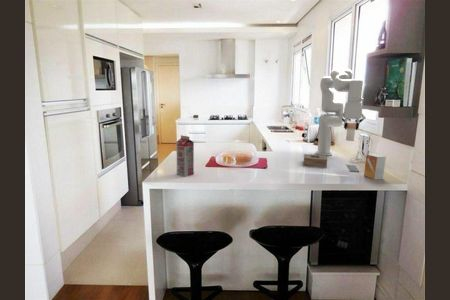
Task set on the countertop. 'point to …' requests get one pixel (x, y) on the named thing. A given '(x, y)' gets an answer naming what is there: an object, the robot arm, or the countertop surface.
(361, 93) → the robot arm
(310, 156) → the socket block
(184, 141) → the juice carton
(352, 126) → the plug
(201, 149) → the countertop surface
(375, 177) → the small box
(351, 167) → the mat
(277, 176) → the countertop surface
